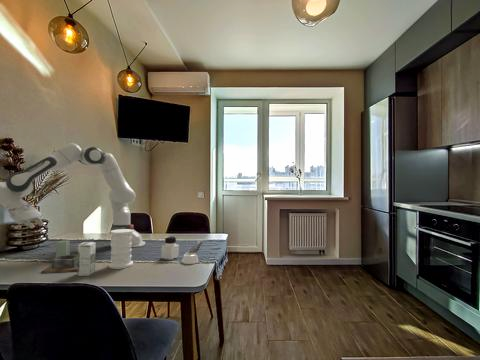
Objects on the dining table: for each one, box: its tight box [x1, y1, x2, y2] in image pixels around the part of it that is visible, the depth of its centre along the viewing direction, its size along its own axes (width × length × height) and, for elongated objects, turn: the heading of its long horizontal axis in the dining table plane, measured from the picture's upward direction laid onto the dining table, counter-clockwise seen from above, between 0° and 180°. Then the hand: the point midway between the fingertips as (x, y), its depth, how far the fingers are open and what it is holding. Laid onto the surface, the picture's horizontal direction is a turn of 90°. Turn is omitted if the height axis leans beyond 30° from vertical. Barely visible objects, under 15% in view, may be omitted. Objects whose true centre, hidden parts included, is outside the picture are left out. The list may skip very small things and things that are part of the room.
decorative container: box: [108, 229, 134, 270], centre depth 150 cm, size 12×12×18 cm
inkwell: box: [181, 240, 204, 265], centre depth 162 cm, size 9×18×10 cm, turn 157°
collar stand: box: [41, 254, 78, 274], centre depth 146 cm, size 16×16×5 cm
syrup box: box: [76, 241, 97, 277], centre depth 136 cm, size 6×6×14 cm
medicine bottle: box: [160, 235, 180, 261], centre depth 166 cm, size 7×7×12 cm
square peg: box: [55, 239, 71, 258], centre depth 160 cm, size 5×5×10 cm
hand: (38, 226), depth 158 cm, fingers open, 8 cm apart
